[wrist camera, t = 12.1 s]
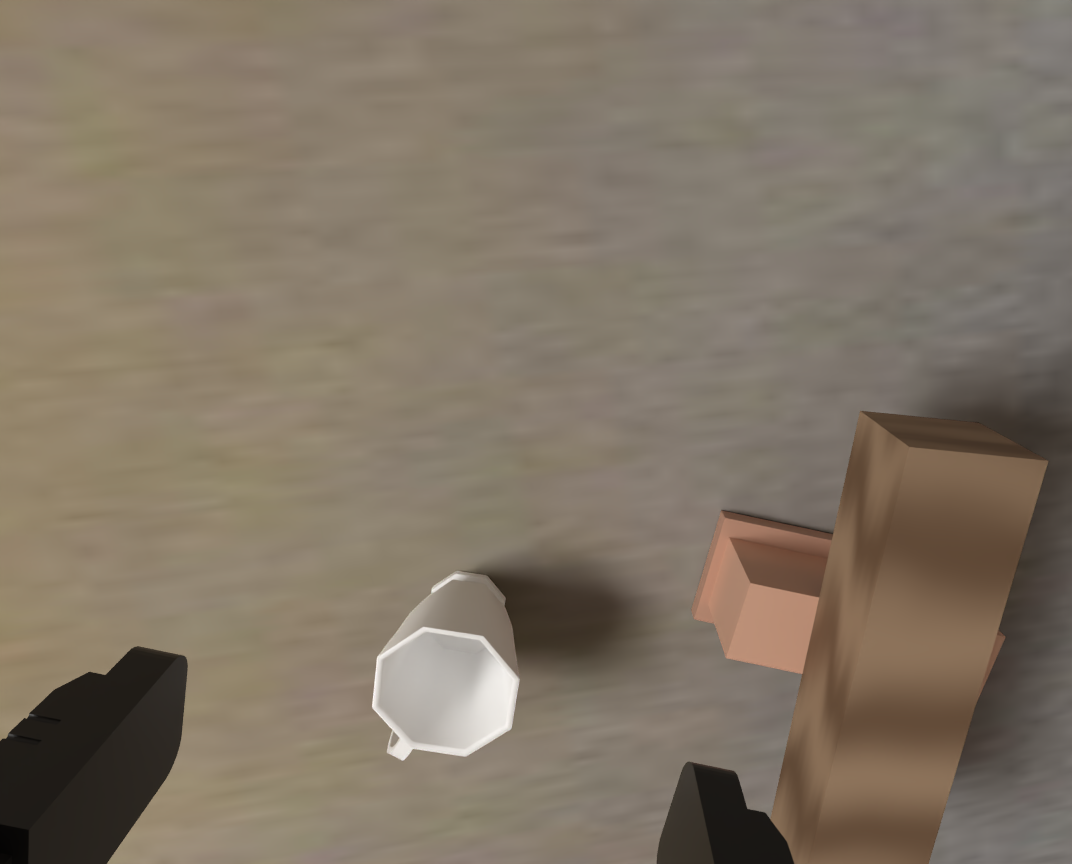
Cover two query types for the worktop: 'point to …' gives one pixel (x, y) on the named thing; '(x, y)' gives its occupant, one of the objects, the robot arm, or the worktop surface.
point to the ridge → (768, 590)
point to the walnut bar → (902, 636)
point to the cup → (449, 671)
